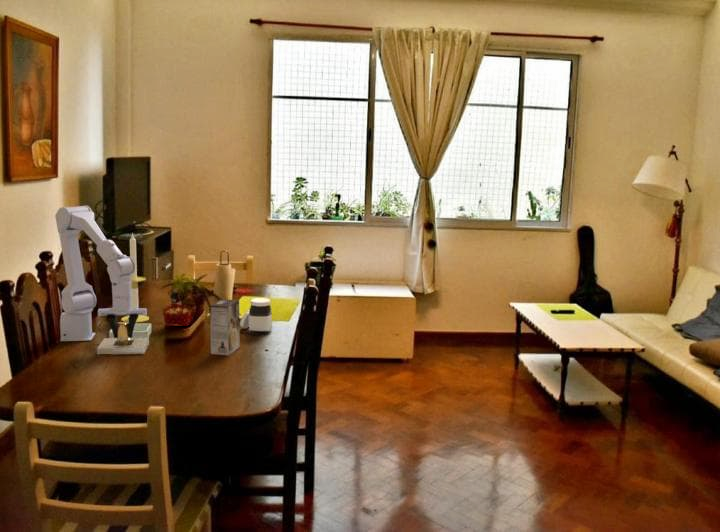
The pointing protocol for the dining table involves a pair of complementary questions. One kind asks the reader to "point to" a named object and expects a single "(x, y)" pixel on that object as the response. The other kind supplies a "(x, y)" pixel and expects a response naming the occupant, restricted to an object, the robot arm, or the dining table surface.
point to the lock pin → (122, 333)
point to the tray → (138, 331)
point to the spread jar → (258, 317)
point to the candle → (135, 283)
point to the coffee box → (224, 326)
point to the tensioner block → (134, 348)
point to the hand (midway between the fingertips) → (123, 337)
